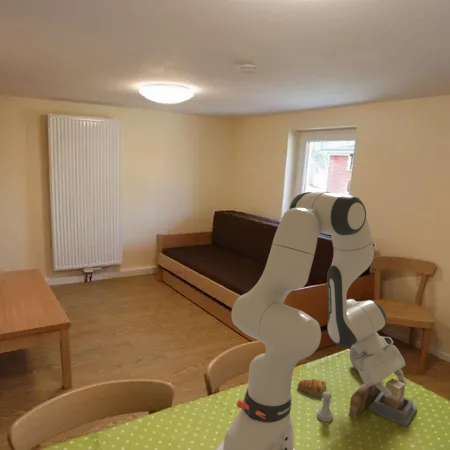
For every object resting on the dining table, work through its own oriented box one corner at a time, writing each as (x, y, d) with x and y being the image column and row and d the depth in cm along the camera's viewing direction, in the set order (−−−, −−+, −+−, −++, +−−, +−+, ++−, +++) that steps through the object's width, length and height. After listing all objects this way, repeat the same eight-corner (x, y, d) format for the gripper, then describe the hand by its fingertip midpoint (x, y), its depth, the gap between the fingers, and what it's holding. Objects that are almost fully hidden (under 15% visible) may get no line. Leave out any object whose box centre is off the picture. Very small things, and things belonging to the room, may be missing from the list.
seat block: (406, 427, 109) (407, 417, 109) (368, 410, 116) (369, 401, 116) (416, 409, 117) (417, 400, 117) (380, 395, 124) (381, 386, 124)
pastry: (297, 393, 123) (298, 383, 123) (298, 382, 130) (299, 372, 129) (326, 399, 121) (327, 388, 121) (326, 387, 128) (327, 377, 127)
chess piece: (335, 421, 110) (338, 396, 109) (320, 422, 109) (322, 397, 108) (329, 411, 115) (331, 387, 113) (314, 412, 114) (316, 387, 113)
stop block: (396, 413, 114) (399, 388, 112) (383, 406, 117) (386, 382, 115) (402, 408, 116) (405, 384, 115) (389, 401, 119) (392, 378, 118)
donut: (370, 376, 135) (373, 350, 134) (362, 377, 134) (365, 351, 133) (354, 362, 145) (356, 338, 143) (346, 363, 144) (348, 339, 142)
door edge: (355, 418, 112) (357, 399, 111) (349, 414, 113) (351, 396, 112) (380, 387, 129) (382, 371, 128) (374, 385, 130) (376, 369, 129)
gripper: (360, 353, 112) (388, 399, 107) (393, 336, 125) (419, 376, 119) (345, 361, 117) (371, 405, 111) (379, 343, 129) (404, 383, 124)
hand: (397, 390), depth 115 cm, fingers open, 8 cm apart
